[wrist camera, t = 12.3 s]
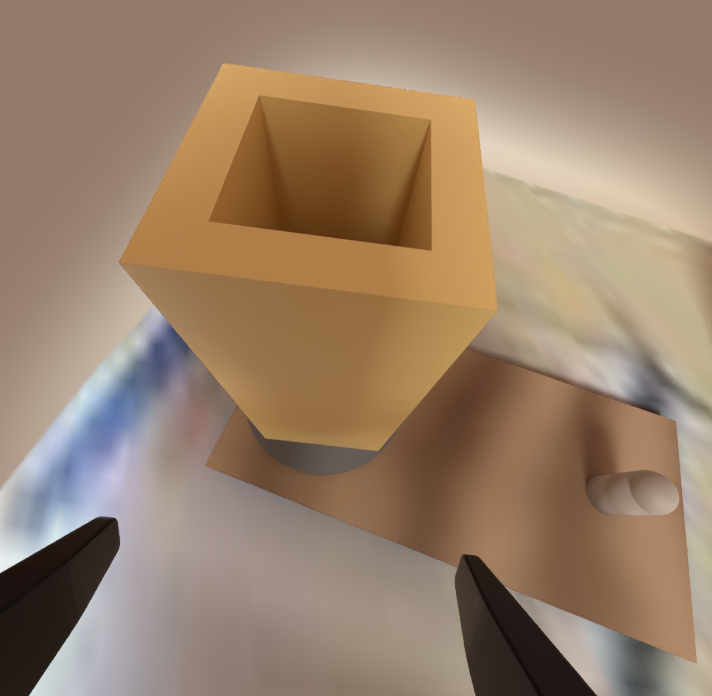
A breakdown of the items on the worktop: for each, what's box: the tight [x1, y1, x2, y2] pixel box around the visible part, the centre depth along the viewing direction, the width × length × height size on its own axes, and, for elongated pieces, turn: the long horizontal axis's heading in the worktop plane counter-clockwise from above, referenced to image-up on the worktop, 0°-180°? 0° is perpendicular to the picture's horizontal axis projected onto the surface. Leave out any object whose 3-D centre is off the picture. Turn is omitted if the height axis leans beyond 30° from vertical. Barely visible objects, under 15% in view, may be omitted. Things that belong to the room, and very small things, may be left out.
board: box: [205, 349, 697, 664], centre depth 16 cm, size 23×11×4 cm, turn 70°
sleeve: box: [119, 63, 498, 451], centre depth 12 cm, size 6×6×13 cm
